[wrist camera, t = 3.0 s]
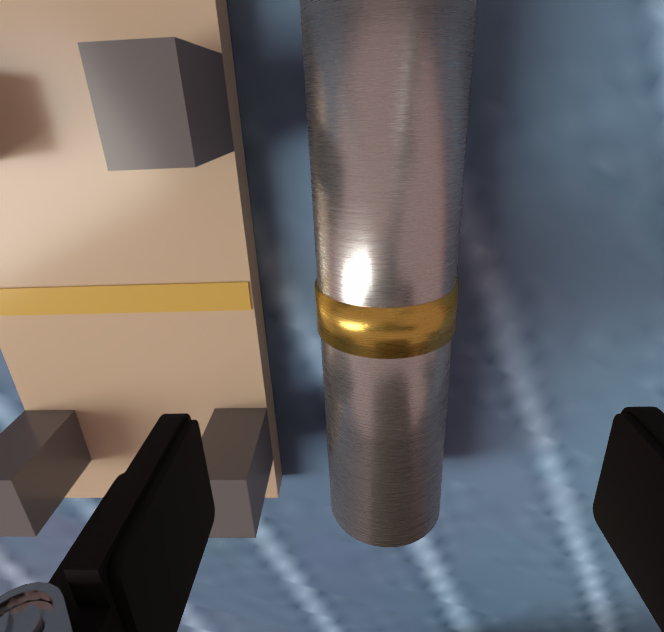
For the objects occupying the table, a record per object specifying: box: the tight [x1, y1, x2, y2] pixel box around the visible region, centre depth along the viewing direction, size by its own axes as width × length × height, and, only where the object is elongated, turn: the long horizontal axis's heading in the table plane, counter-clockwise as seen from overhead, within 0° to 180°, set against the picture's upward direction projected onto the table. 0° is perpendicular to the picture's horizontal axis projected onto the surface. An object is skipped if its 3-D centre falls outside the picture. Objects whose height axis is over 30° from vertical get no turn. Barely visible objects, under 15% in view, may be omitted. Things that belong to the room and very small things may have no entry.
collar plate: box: [0, 0, 282, 538], centre depth 18 cm, size 11×22×6 cm, turn 3°
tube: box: [300, 0, 477, 547], centre depth 17 cm, size 20×5×5 cm, turn 3°
